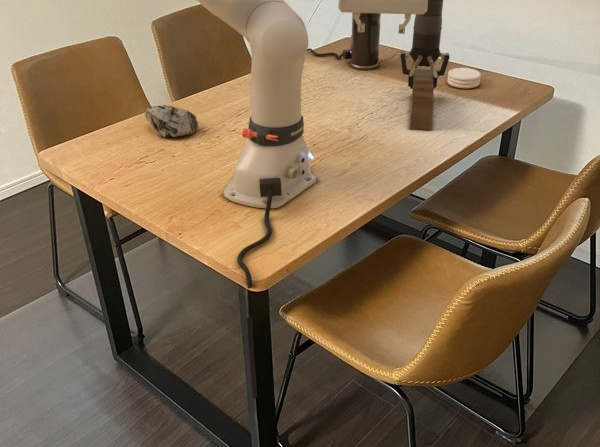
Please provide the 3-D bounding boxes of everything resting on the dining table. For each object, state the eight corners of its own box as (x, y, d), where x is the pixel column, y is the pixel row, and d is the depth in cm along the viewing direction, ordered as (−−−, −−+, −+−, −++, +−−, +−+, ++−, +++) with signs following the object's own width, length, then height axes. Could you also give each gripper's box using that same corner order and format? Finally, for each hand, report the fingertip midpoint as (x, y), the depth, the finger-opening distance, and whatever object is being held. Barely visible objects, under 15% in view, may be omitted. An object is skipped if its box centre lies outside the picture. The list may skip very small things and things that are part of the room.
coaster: (442, 78, 197) (444, 68, 195) (473, 77, 198) (474, 66, 196) (452, 89, 189) (453, 78, 187) (484, 88, 189) (486, 77, 188)
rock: (203, 130, 165) (200, 105, 161) (171, 142, 159) (167, 116, 155) (172, 117, 174) (168, 92, 171) (140, 127, 168) (136, 102, 165)
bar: (430, 130, 164) (433, 101, 160) (409, 129, 165) (412, 100, 161) (430, 96, 185) (432, 69, 181) (411, 95, 186) (414, 68, 181)
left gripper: (432, -33, 138) (426, 30, 146) (341, -35, 141) (339, 27, 149) (432, -27, 133) (426, 37, 140) (337, -29, 136) (336, 34, 143)
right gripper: (453, 26, 173) (446, 85, 182) (401, 25, 175) (397, 83, 185) (454, 34, 167) (447, 94, 176) (400, 32, 169) (396, 91, 178)
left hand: (381, 32), depth 145 cm, fingers open, 8 cm apart
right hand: (421, 88), depth 180 cm, fingers closed on bar, 5 cm apart
